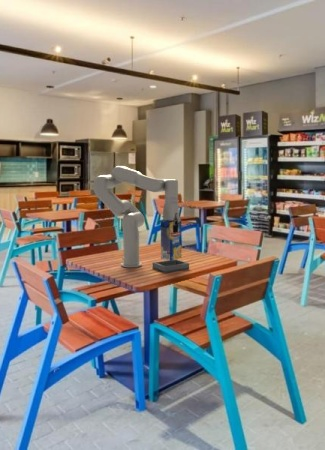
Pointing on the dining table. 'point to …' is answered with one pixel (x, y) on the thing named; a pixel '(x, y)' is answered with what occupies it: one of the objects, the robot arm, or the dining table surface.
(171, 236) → the beverage box
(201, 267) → the dining table surface
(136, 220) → the robot arm
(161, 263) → the tray
